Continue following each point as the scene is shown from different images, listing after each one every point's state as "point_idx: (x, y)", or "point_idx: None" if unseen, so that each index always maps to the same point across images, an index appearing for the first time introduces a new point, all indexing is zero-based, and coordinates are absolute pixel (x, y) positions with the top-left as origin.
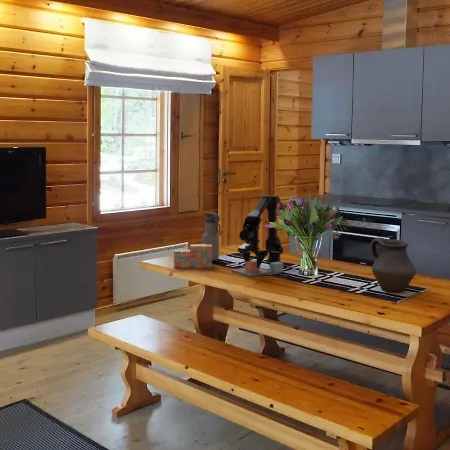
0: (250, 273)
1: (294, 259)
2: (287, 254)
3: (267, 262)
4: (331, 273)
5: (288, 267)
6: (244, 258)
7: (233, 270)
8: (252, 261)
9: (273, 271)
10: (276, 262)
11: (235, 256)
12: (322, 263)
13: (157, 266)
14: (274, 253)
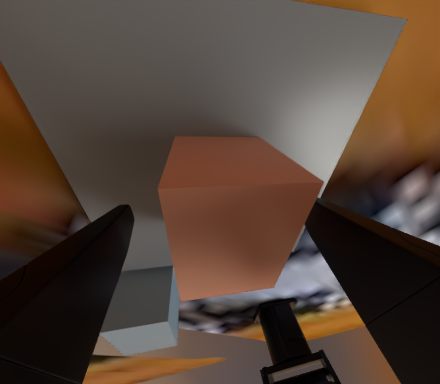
0: (95, 67)
1: (263, 338)
2: (305, 337)
3: (294, 302)
4: None
5: (200, 319)
6: (403, 239)
7: (374, 15)
8: (233, 253)
9: (137, 271)
10: (160, 341)
11: None
12: (187, 360)
13: None
14: (285, 362)
